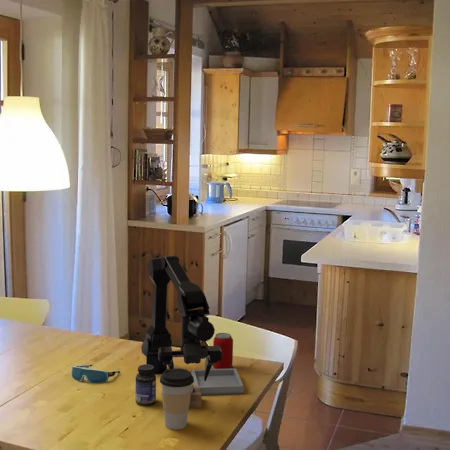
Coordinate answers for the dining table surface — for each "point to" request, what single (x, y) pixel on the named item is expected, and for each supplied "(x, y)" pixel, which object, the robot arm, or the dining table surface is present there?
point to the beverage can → (224, 350)
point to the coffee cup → (176, 397)
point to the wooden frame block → (195, 397)
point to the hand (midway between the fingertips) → (189, 381)
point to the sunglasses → (91, 374)
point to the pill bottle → (145, 385)
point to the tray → (218, 381)
